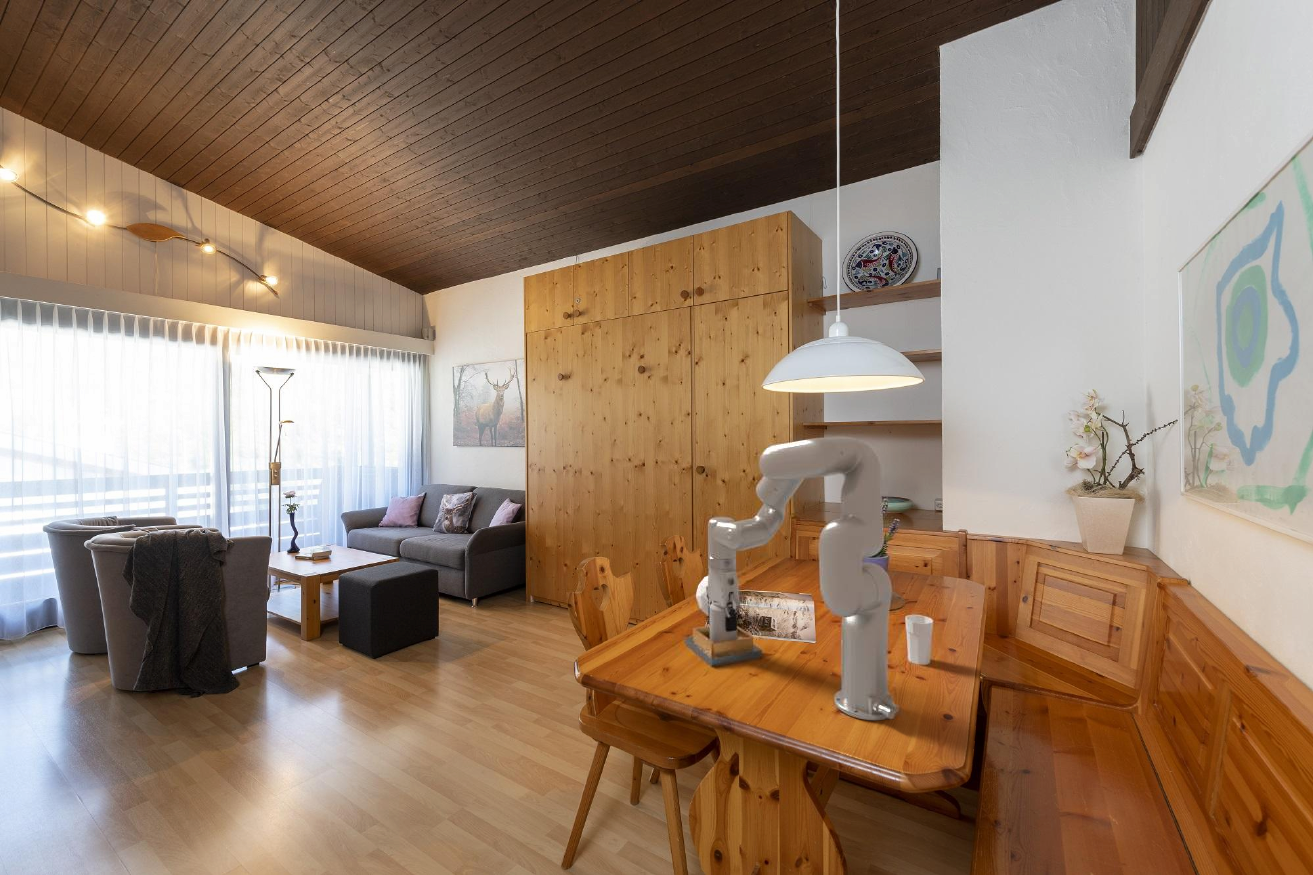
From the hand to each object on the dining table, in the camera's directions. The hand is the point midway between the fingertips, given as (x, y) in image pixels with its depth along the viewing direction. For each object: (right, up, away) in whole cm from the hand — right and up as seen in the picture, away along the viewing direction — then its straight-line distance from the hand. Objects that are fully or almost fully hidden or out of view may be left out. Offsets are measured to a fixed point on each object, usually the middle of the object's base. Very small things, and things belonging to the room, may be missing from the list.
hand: (722, 624), depth 156 cm
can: (0, -5, 0) cm, 5 cm away
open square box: (0, -7, 0) cm, 7 cm away
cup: (+51, -7, -7) cm, 52 cm away
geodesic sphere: (+2, -7, +28) cm, 29 cm away
